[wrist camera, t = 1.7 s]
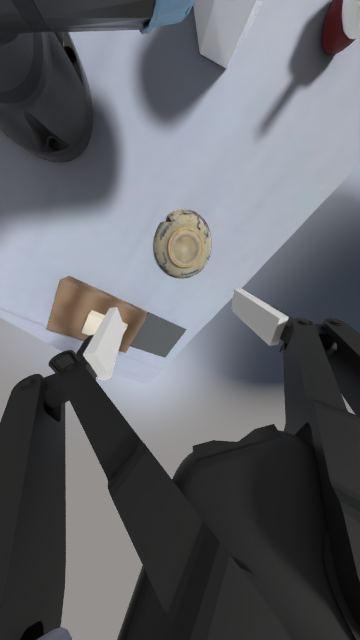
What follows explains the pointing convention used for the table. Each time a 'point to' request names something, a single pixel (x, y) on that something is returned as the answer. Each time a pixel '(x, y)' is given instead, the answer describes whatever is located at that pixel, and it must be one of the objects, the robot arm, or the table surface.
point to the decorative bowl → (182, 244)
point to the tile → (94, 323)
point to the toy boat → (341, 25)
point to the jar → (223, 26)
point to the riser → (80, 300)
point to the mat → (157, 335)
